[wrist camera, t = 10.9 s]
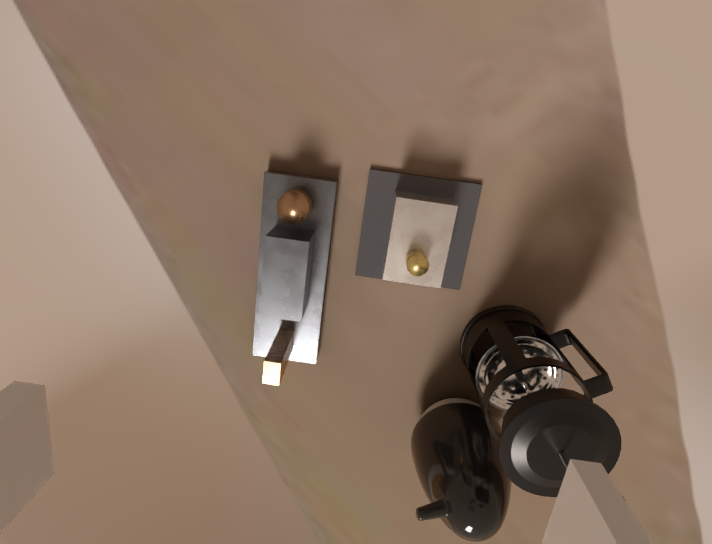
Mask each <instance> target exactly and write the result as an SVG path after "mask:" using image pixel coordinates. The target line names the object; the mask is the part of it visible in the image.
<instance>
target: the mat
mask: <svg viewBox="0 0 712 544" xmlns="http://www.w3.org/2000/svg"><path fill="white" fill-rule="evenodd" d="M481 188H482V184H476V183H468V182H461V181H454V180H447V179H439V178H432V177H425V176H418V175H410V174H403V173H396V172H388V171H381V170H374V169H370V172H369V179H368V187H367V194H366V201H365V209H364V216H363V223H362V230H361V238H360V245H359V252H358V260H357V267H356V274H355V275H357V276H365V277H372V278H379V279H383V272H382V266H383V260H384V254H385V248H386V242H387V236H388V230H389V224H390V218H391V212H392V206H393V200H394V194H395V190H397V191H404V192H410V193H417V194H424V195H431V196H437V197H444V198H451V199H452V200H453V201H454V202H455V203H456V204H457V206H458V209H457V214H456V218H455V223H454V228H453V232H452V237H451V242H450V246H449V251H448V256H447V260H446V265H445V270H444V274H443V279H442V284H441V287H444V288H451V289H458V290H459V289H460V284H461V280H462V275H463V271H464V266H465V261H466V257H467V252H468V248H469V243H470V238H471V234H472V229H473V225H474V220H475V215H476V211H477V206H478V202H479V197H480V192H481Z"/></svg>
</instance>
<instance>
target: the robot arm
mask: <svg viewBox="0 0 712 544" xmlns="http://www.w3.org/2000/svg"><path fill="white" fill-rule="evenodd" d="M53 475H54V465H53V456H52V447H51V437H50V428H49V419H48V409H47V399H46V390H45V385H38V384H32V383H24V382H17V381H14V382H13V383H11V384H10V385H9V386H7V387H6V388H5V389H3V390H2V391H0V533H1V532H2V531H3V530H4V529H5V527H7V525H8V524H9V523H10V522H11V521H12V520H13V519H14V518H15V517H16V516H17V514H18V513H19V512H20V511H21V510H22V509H23V508H24V507H25V506H26V504H27V503H28V502H29V501H30V500H31V499H32V498H33V497H34V496H35V495H36V493H37V492H38V491H39V490H40V489H41V488H42V487H43V486H44V485H45V484H46V482H47V481H48V480H49V479H50V478H51V477H52V476H53ZM542 544H652V542H651V541H650V539H649V538H648V536H647V534H646V533H645V531H644V530H643V528H642V527H641V525H640V523H639V522H638V520H637V519H636V517H635V516H634V514H633V512H632V511H631V509H630V508H629V506H628V505H627V503H626V501H625V500H624V498H623V497H622V495H621V494H620V492H619V490H618V489H617V487H616V486H615V484H614V483H613V481H612V479H611V478H610V476H609V475H608V473H607V472H606V470H605V468H604V467H603V465H602V464H601V463H596V462H589V461H582V460H575V459H570V461H569V464H568V467H567V470H566V473H565V476H564V479H563V482H562V485H561V488H560V490H559V493H558V496H557V499H556V502H555V505H554V508H553V511H552V514H551V516H550V519H549V522H548V525H547V528H546V531H545V534H544V537H543V540H542Z"/></svg>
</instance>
